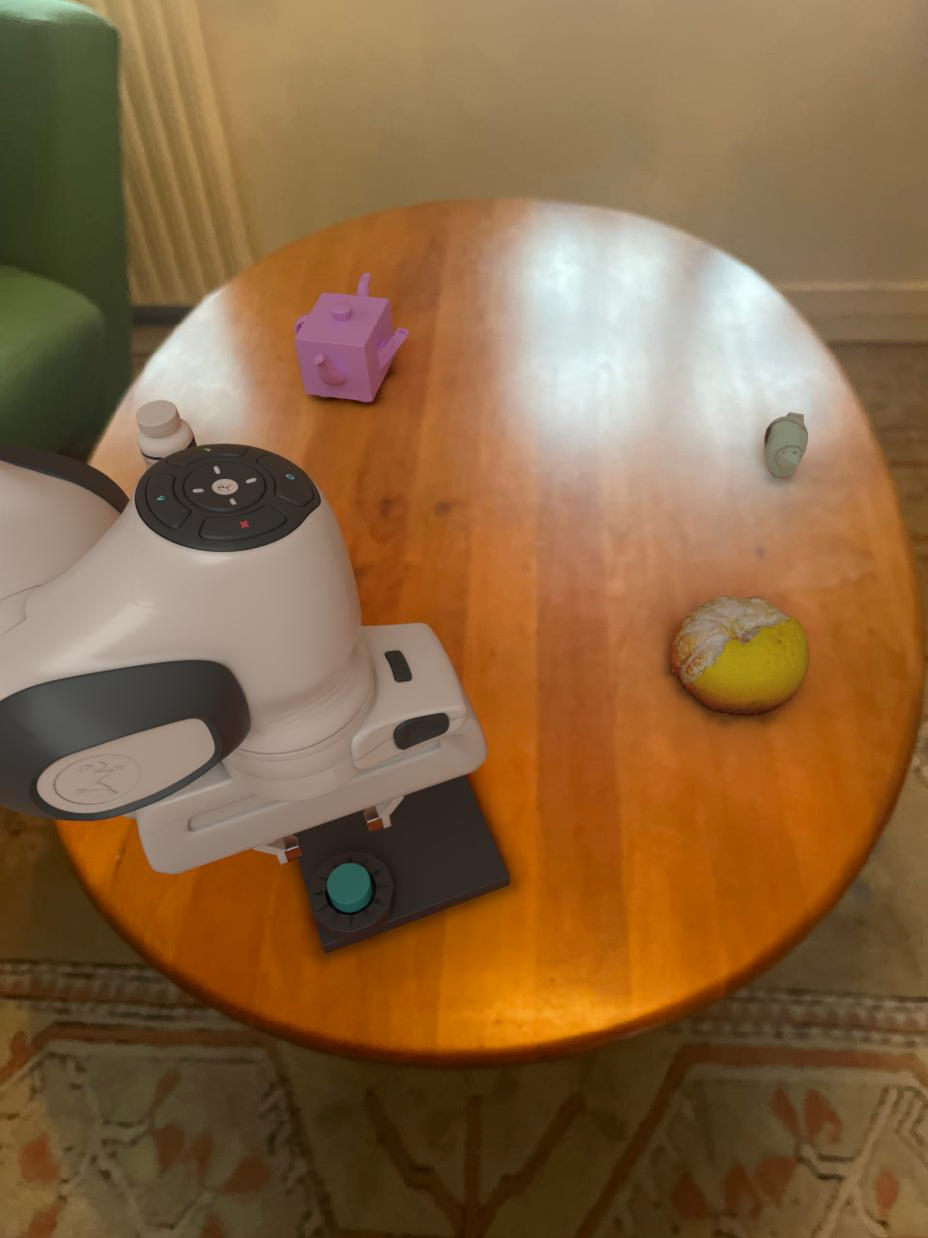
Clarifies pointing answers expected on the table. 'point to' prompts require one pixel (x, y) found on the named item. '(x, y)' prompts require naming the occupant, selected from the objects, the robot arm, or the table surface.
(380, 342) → the teapot
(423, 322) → the table surface
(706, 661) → the fruit
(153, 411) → the pill bottle
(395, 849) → the black button board
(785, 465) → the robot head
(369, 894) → the button
